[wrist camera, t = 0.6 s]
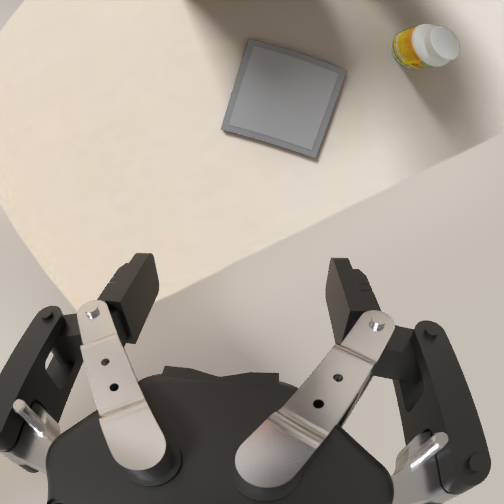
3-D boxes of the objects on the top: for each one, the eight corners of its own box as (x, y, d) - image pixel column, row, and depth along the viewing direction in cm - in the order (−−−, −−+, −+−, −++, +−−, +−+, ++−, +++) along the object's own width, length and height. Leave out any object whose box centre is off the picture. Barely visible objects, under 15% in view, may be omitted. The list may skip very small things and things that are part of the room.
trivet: (249, 40, 28) (249, 38, 28) (344, 71, 30) (346, 70, 29) (221, 128, 34) (220, 129, 33) (314, 157, 35) (315, 158, 35)
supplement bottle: (416, 30, 25) (455, 19, 17) (429, 66, 28) (471, 64, 19) (383, 34, 26) (417, 20, 18) (398, 72, 29) (435, 68, 20)
